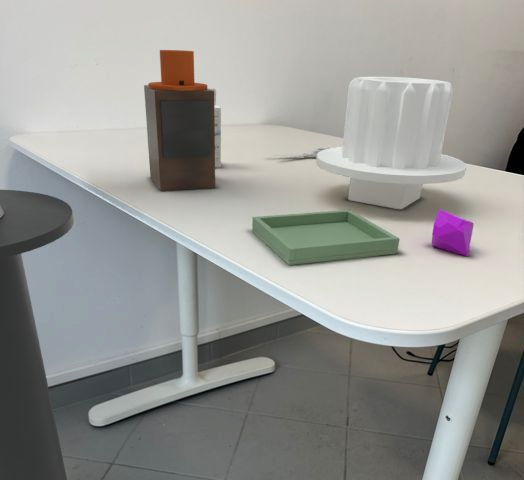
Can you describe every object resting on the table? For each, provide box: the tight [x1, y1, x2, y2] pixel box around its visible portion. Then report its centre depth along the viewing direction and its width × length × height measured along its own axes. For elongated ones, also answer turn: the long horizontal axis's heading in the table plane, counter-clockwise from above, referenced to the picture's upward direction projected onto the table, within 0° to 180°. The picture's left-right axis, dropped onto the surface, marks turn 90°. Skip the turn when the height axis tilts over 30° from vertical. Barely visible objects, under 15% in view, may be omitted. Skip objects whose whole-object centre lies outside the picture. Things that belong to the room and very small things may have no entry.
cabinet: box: [143, 84, 216, 192], centre depth 96 cm, size 10×10×16 cm
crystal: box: [431, 208, 474, 257], centre depth 72 cm, size 5×5×5 cm
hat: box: [147, 49, 208, 91], centre depth 91 cm, size 10×10×6 cm
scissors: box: [272, 146, 331, 160], centre depth 125 cm, size 11×1×20 cm
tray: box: [251, 209, 400, 266], centre depth 73 cm, size 16×14×2 cm
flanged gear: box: [315, 75, 467, 210], centre depth 90 cm, size 25×25×19 cm
